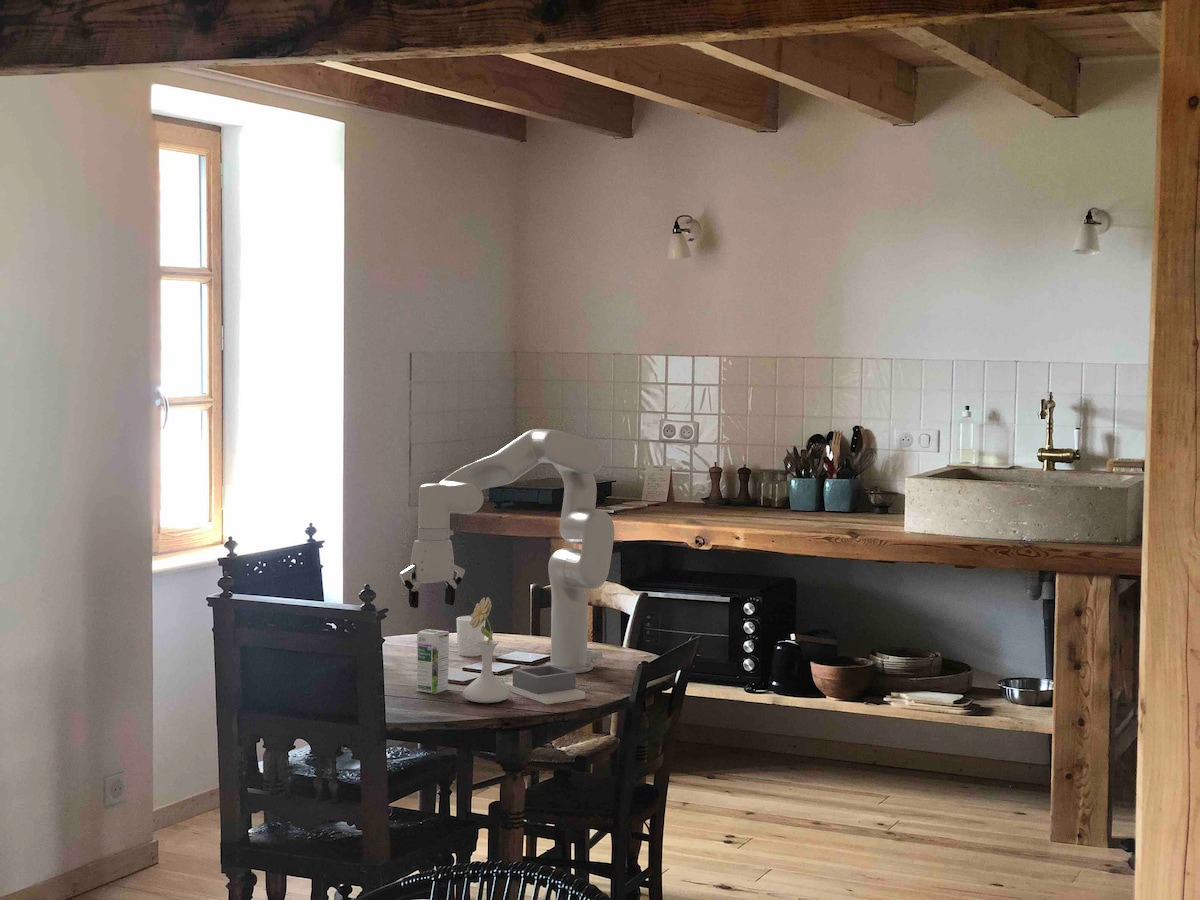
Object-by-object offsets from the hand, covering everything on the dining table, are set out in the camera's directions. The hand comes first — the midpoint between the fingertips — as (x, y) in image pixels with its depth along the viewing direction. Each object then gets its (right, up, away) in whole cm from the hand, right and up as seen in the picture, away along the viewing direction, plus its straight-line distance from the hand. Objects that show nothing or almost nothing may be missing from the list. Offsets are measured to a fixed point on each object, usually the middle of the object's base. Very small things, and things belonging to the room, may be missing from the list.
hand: (431, 605), depth 330 cm
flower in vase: (+14, -22, -9) cm, 27 cm away
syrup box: (0, -21, +1) cm, 21 cm away
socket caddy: (+27, -21, 0) cm, 34 cm away
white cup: (+5, -19, +46) cm, 50 cm away
